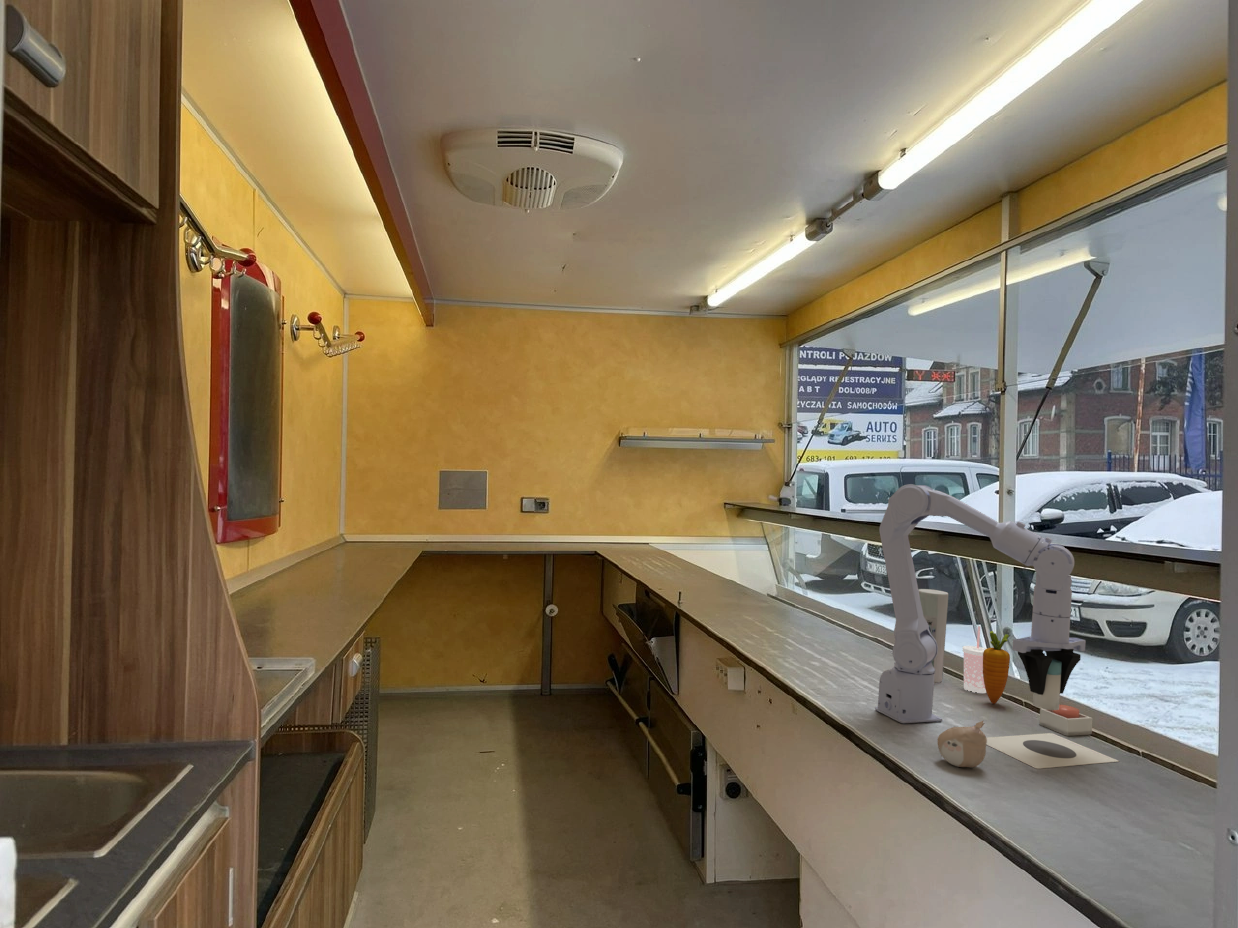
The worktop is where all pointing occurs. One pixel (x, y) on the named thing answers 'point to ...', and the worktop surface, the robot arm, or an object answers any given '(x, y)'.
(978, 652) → the beverage cup
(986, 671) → the carrot
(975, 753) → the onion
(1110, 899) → the worktop surface
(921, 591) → the spray can
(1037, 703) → the marker
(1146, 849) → the worktop surface
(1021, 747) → the paper sheet
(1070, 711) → the button
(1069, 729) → the button housing
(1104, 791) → the worktop surface
